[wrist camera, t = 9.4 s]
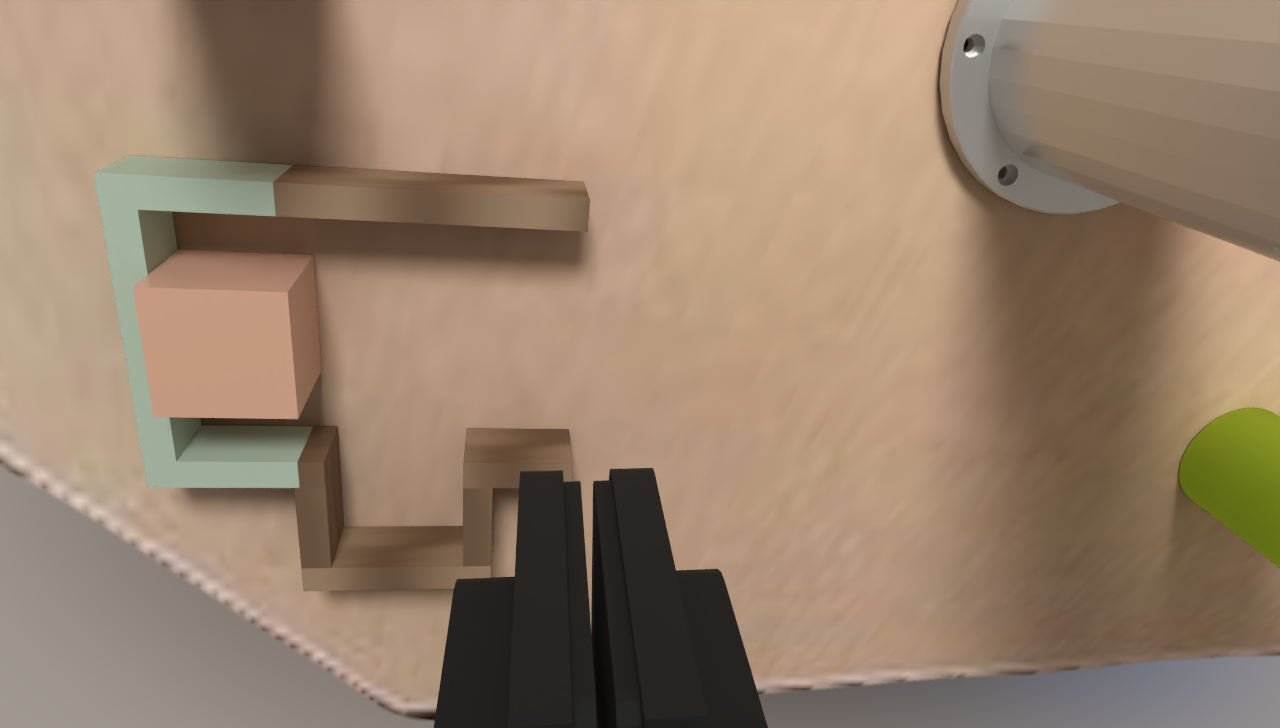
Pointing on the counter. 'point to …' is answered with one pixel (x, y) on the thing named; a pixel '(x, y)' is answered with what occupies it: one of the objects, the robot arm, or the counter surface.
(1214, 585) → the counter surface
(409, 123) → the counter surface
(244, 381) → the block
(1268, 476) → the soap dispenser
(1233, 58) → the robot arm
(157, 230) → the end bay
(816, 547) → the counter surface
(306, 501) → the channel
